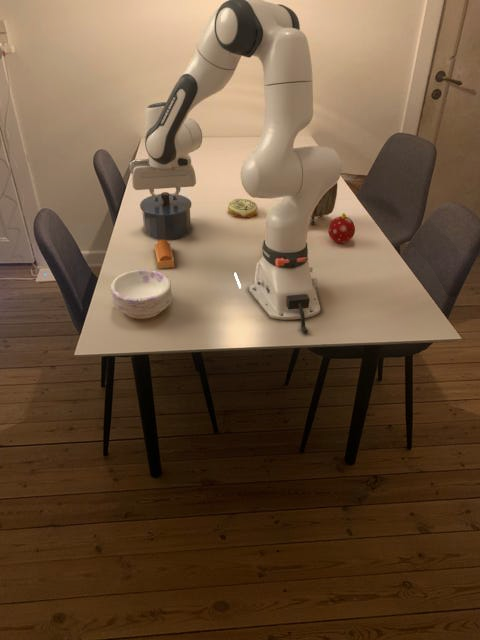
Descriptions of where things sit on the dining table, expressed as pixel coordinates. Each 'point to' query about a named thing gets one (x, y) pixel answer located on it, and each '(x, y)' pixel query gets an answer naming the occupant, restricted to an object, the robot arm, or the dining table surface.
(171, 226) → the crock
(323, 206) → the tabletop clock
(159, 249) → the orange rounded bar
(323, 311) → the dining table surface
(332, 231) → the christmas ornament
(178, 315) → the dining table surface
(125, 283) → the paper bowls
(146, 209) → the crock lid
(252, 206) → the decorated donut
